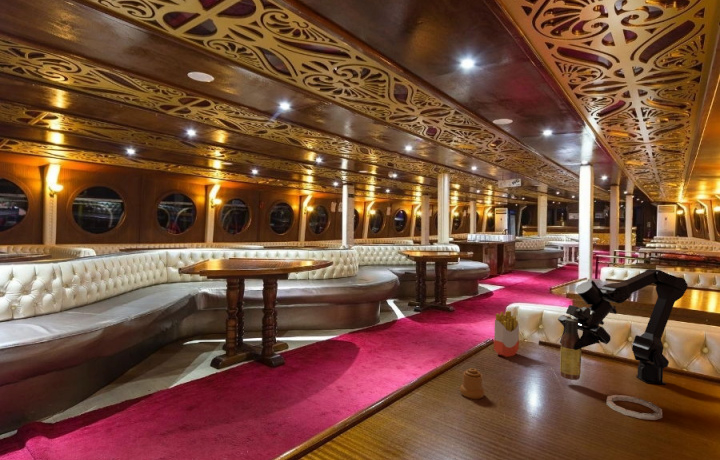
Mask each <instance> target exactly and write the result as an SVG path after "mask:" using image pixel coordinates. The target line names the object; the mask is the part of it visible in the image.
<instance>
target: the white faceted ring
mask: <svg viewBox="0 0 720 460" xmlns="http://www.w3.org/2000/svg"><path fill="white" fill-rule="evenodd" d="M616 401H623V402H629V403H634V404H639V405H641V406H644V407H647V408H648V409H650V410H653V413H646V412H638V411H634V410H630V409H626V408H624V407H622V406H619V405H617V404H616V403H614V402H616ZM606 406H608V407H609V408H610V409H612V410H613V411H616V412H618V413H619V414H622V415H623V416H628V417H631V418H636V419H640V420H648V421H649V420H651V421H656V420H661V419H663V409H662V408H661V407H660V406H658V405H656V404H655V403H653V402H650V401H647V400H645V399H643V398H638V397H635V396H630V395H620V394H614V395H608V396H607V397H606Z"/></svg>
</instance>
